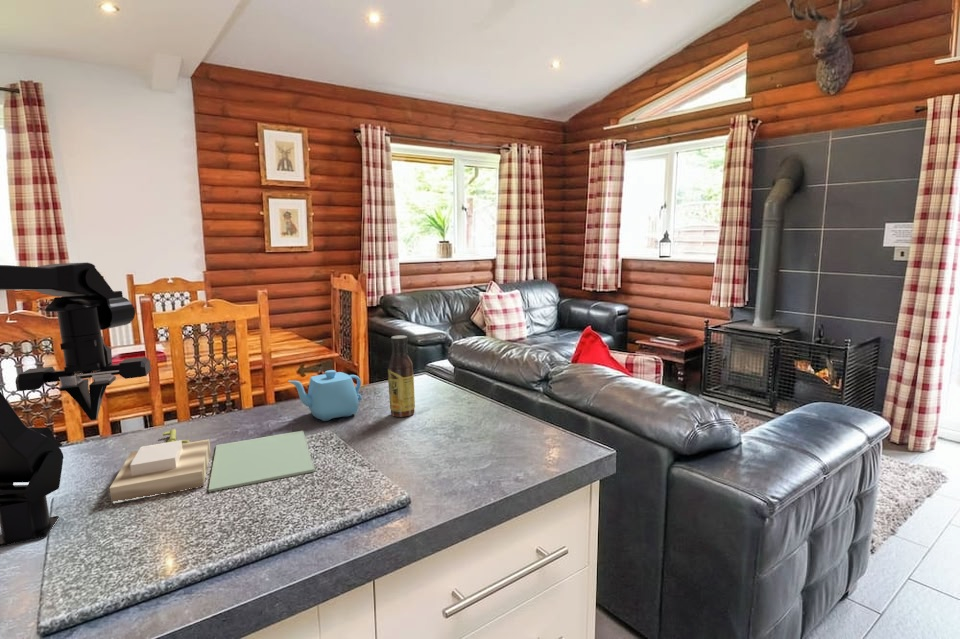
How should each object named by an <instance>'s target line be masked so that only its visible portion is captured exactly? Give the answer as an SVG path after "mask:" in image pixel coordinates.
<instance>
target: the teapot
mask: <svg viewBox="0 0 960 639" xmlns="http://www.w3.org/2000/svg"><path fill="white" fill-rule="evenodd" d="M353 379H355V380H356V386H355V383H354V381H353ZM287 383H290V384H292V385H294V386H295V388H296V390H297V393H298V396H299V399H300V401H301V403H302V404H303V405H304V406H306V407H308V409H309V411H310V413H311V414H312V416H314V417H315V418H316V419H319V420H320V421H321V422H322V421H323V422H328V421H331V419H335V418H341V417H350V416H353V415H354V414H357V413H358V409H359V402H361V401H362V398H363V397H362V395H361V393H359V392H360V389H361V385H362V380H361V377H359V376H358V375H356V374H348V373H346V372H343V371H342V372H341V371H338V372H337V371H336V370H334V369H329V370H325V371H324V374H318V375H312V376H310V379H309V383H308V390H307V393H306V392H305V388H304V385H303V384H302V383H301V381H298V380H288V381H287Z"/></svg>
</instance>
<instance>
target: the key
mask: <svg viewBox="0 0 960 639" xmlns="http://www.w3.org/2000/svg"><path fill="white" fill-rule="evenodd" d="M162 436H169V439H168V440H167V442H173V441H179V440H180V439H177V430H176V428H172V429H170V430H168V431H163V432H162ZM181 440H182V444H183V443H189V442H191V441H190V440H188V439H181ZM167 442H165V443H167Z"/></svg>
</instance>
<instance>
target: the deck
mask: <svg viewBox="0 0 960 639" xmlns="http://www.w3.org/2000/svg"><path fill="white" fill-rule="evenodd" d="M182 448H183V450H182V453H181V456H180V459H179V462H178V465H177V467H176V468H174V469H168V470H162V471H157V472H151V473H146V474H140V475H134V476H132V475H131V468H130V465H131V463H132V461H133V459H134V458H135V456H136V454H137V452H138V451H139V450H136V451H131V452H130V453H129V455H128V457H127V458H126V460H125V462H124V463H123V464H122V467H121V469H119V472H118V473H117V475H116V477H115V478H114V480H113V482H112V483H111V485H110V487H109V493H110V500H111V501H110V502H111V503H112V502H113V501H118V500H125V499H132V498H136V497H143V496H150V495H155V494H161V493H169V492H174V491H180V490H185V489H189V488H190V490H192V489H191V488H196V487H200V486H204V487H205V484H204V482H206V479H205V477H206V478H207V474H206V472H207V473H208V469H207V467H209V464H208V463H210V458H211V454H212V453H211V444H210V439H209V438H208V439H203V440H197V441H190V442H189V443H183V444H182ZM196 489H197V488H196ZM185 491H186V490H185ZM180 492H181V491H180Z"/></svg>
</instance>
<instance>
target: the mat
mask: <svg viewBox="0 0 960 639" xmlns="http://www.w3.org/2000/svg"><path fill="white" fill-rule="evenodd" d="M215 446H216V447H215V452H214V458H213V463H212V466H211V467H212V468H211V474H210V480H209V486H208V493H212V492H211V491H214V492H218V491H217V490H219V491H223V490H222V489H224V490H227V489H228V488H229V489H234V488H237V487H243V485H244V486H248V485H253V484H259V483H263V482H268V481H273V480H280V479H283V478H288V477H294V476H298V475H299V476H300V475H305V474H309V473H313V472H315V467H314V462H313V460H312V457H311V453H310V449H309V447H308V443H307V439H306V436H305V433H304V430H299V431H293V432H287V433H280V434H274V435H269V436H264V437H263V436H262V437H256V438H251V439H244V440H239V441H234V442H233V441H232V442H227V443H221V444H216V445H215ZM233 487H234V488H233Z"/></svg>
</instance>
